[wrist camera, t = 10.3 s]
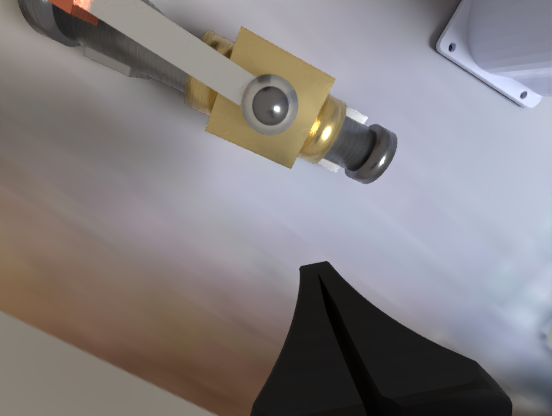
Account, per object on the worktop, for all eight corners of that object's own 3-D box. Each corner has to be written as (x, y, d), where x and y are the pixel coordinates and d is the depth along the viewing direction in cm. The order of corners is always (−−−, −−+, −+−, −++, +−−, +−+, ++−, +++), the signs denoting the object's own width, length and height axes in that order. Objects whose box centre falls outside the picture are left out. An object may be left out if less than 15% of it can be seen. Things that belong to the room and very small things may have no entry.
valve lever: (304, 95, 13) (311, 95, 11) (277, 141, 14) (280, 148, 12) (-10, -119, 9) (-73, -170, 7) (-21, -40, 10) (-81, -70, 8)
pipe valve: (377, 119, 19) (424, 128, 14) (343, 177, 21) (374, 206, 16) (92, -34, 15) (-6, -112, 9) (78, 55, 17) (-11, 34, 11)
